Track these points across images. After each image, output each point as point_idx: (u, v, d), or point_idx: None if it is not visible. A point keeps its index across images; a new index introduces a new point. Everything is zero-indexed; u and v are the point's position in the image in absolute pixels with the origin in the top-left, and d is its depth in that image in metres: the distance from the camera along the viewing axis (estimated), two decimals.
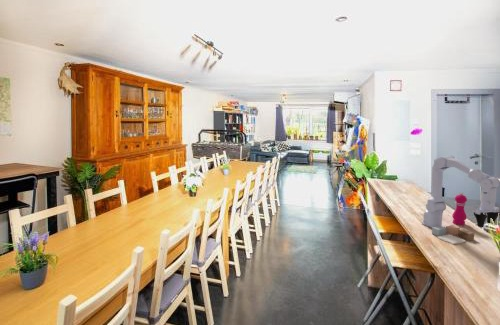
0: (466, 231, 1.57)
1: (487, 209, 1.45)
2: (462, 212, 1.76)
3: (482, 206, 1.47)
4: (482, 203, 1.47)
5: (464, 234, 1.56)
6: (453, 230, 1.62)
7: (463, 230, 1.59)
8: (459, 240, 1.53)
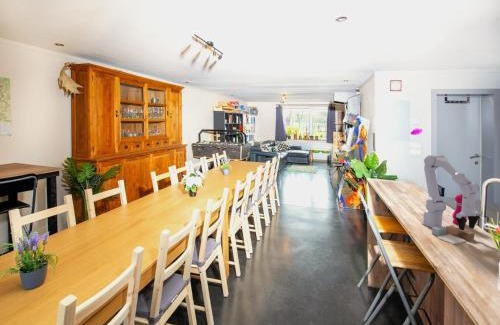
0: (466, 231, 1.57)
1: (467, 213, 1.54)
2: None
3: (463, 210, 1.55)
4: (463, 207, 1.55)
5: (464, 234, 1.56)
6: (454, 230, 1.62)
7: (463, 230, 1.59)
8: (459, 240, 1.53)
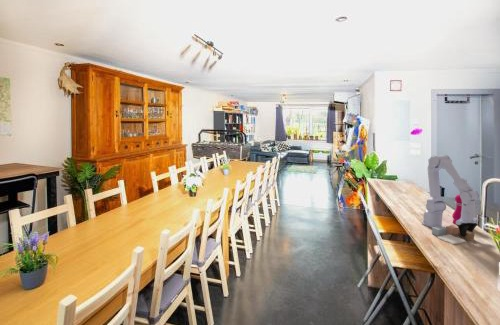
0: None
1: (467, 220, 1.54)
2: None
3: (462, 217, 1.56)
4: (462, 214, 1.56)
5: None
6: (454, 230, 1.62)
7: None
8: (459, 240, 1.53)
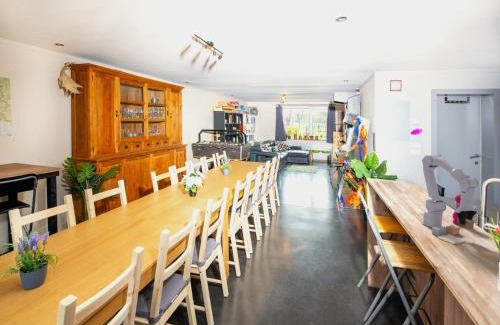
0: (466, 219, 1.56)
1: (466, 208, 1.53)
2: None
3: (461, 205, 1.55)
4: (461, 202, 1.55)
5: None
6: (454, 230, 1.62)
7: None
8: (459, 240, 1.53)
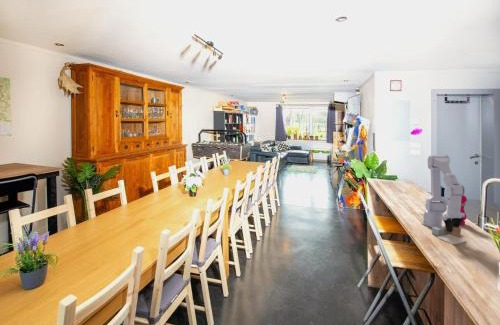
0: None
1: (453, 215, 1.52)
2: (462, 212, 1.76)
3: (448, 212, 1.54)
4: (448, 209, 1.53)
5: None
6: None
7: None
8: (459, 240, 1.53)
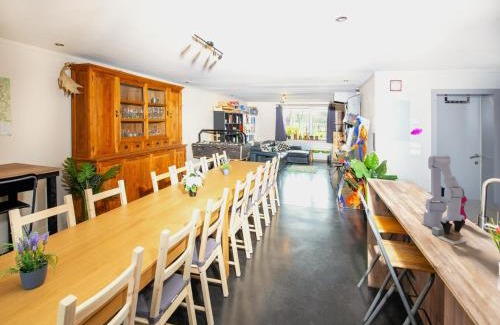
0: (452, 231, 1.55)
1: (452, 218, 1.52)
2: (462, 212, 1.76)
3: (448, 215, 1.54)
4: (448, 212, 1.54)
5: (450, 234, 1.54)
6: None
7: None
8: (459, 240, 1.53)
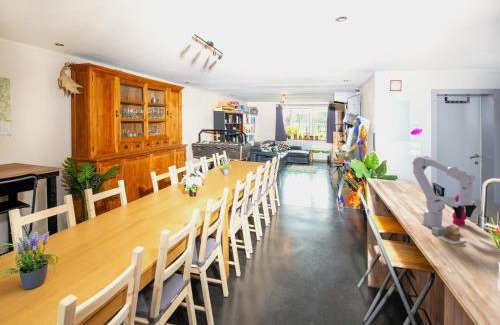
0: (452, 231, 1.55)
1: (464, 202, 1.59)
2: None
3: (460, 200, 1.61)
4: (460, 197, 1.61)
5: (450, 234, 1.54)
6: (454, 230, 1.62)
7: (449, 230, 1.57)
8: (459, 240, 1.53)
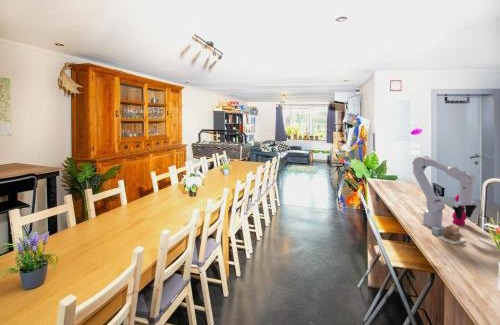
0: (452, 231, 1.55)
1: (464, 202, 1.59)
2: None
3: (460, 200, 1.61)
4: (460, 197, 1.61)
5: (450, 234, 1.54)
6: (454, 230, 1.62)
7: (449, 230, 1.57)
8: (459, 240, 1.53)
